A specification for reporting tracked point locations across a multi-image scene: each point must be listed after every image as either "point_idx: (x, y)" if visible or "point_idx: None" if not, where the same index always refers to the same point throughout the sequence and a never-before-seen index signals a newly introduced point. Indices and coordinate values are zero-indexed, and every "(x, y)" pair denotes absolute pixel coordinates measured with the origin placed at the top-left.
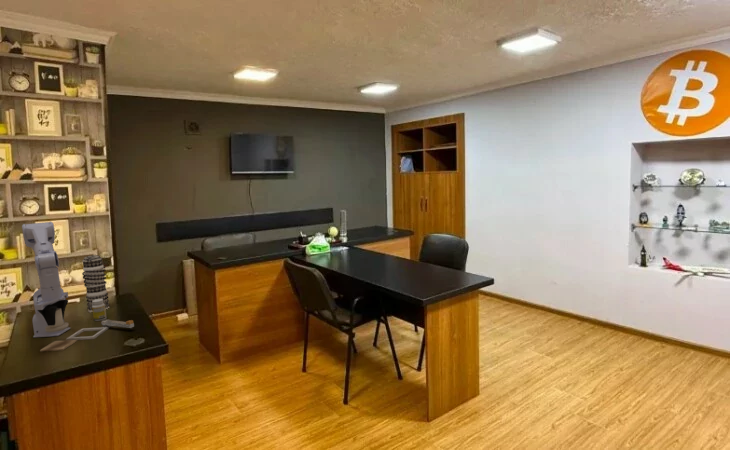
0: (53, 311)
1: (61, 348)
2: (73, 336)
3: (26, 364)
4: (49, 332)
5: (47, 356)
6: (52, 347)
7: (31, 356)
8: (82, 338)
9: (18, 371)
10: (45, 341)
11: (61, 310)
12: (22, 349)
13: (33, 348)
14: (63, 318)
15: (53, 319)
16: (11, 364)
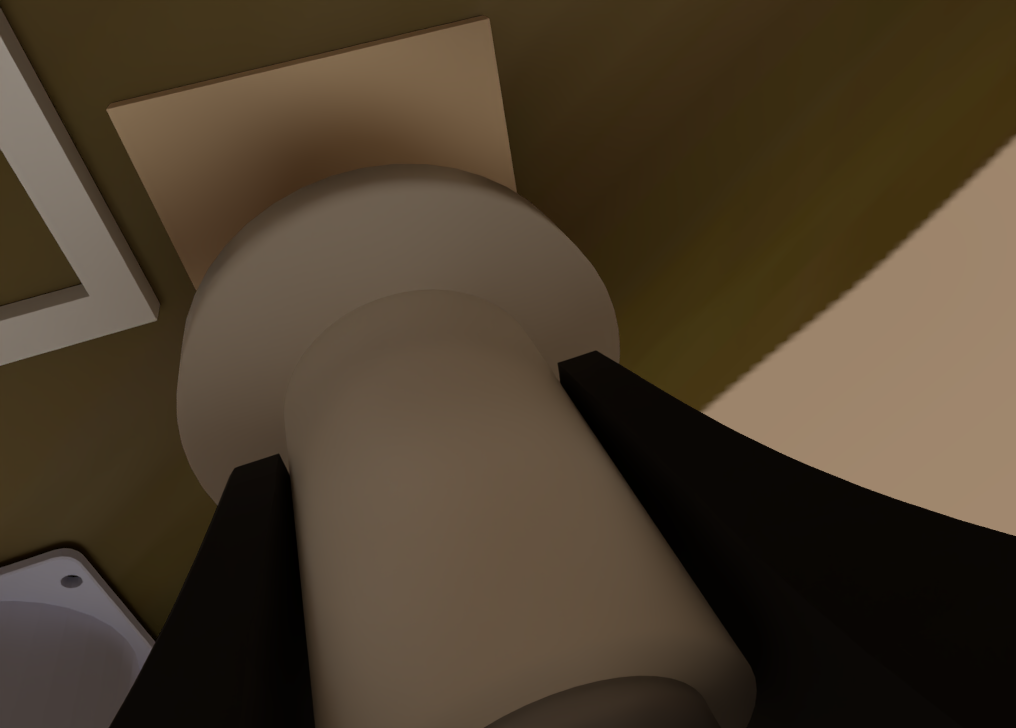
0: (986, 561)
1: (483, 61)
2: (9, 312)
3: (848, 141)
4: (109, 659)
5: (675, 77)
6: None
7: (651, 286)
8: (13, 43)
9: (1000, 63)
10: None
11: (391, 659)
12: None
13: None
14: (225, 490)
15: (702, 414)
16: (806, 302)
